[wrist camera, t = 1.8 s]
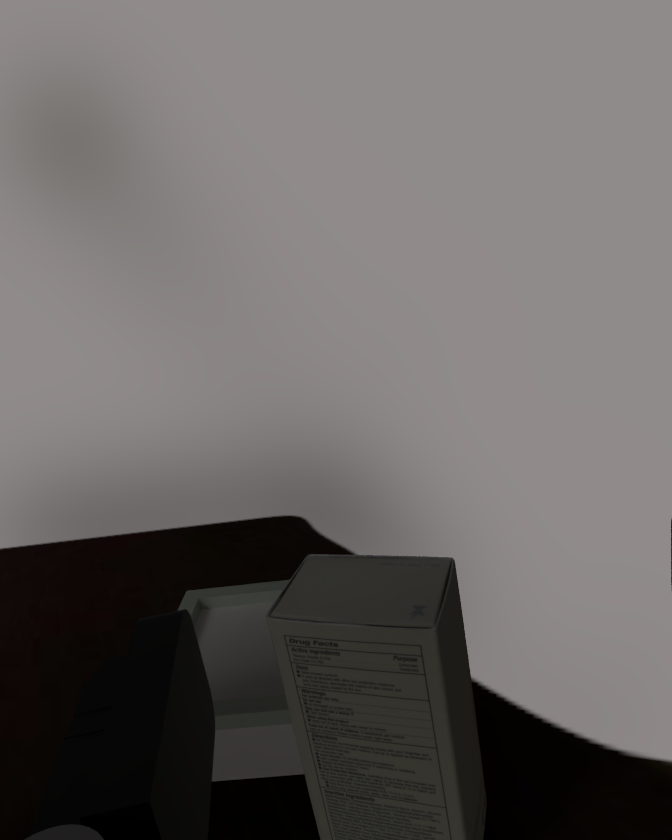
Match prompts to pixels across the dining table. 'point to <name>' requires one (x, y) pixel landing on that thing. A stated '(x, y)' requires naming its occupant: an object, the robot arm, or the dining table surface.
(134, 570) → the dining table surface
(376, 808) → the skincare box
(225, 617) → the shallow open tray
